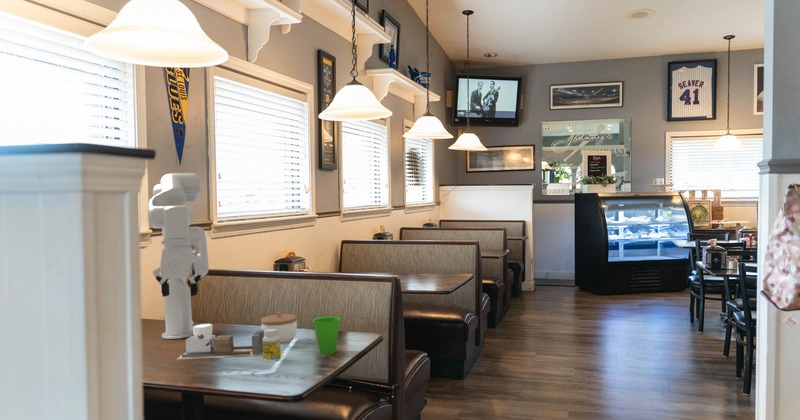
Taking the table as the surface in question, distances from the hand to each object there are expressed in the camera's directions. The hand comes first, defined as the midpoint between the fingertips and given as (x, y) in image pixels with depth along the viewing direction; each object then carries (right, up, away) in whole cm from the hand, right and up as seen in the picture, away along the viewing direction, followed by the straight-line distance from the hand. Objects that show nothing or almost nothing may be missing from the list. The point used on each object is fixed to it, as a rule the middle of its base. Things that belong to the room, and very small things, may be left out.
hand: (180, 295), depth 183 cm
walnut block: (+14, -19, +1) cm, 24 cm away
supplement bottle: (+32, -20, -6) cm, 38 cm away
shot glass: (+2, -21, +17) cm, 27 cm away
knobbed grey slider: (+7, -19, 0) cm, 20 cm away
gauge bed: (+14, -20, +1) cm, 24 cm away
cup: (+49, -19, 0) cm, 52 cm away
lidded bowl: (+30, -19, +15) cm, 39 cm away
